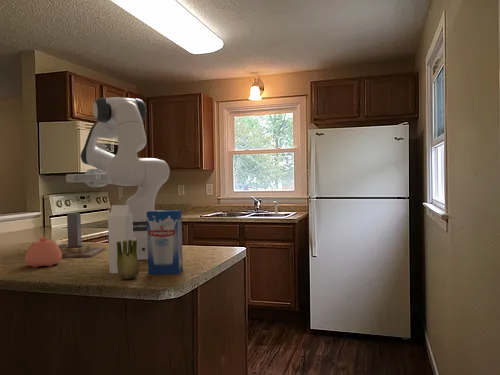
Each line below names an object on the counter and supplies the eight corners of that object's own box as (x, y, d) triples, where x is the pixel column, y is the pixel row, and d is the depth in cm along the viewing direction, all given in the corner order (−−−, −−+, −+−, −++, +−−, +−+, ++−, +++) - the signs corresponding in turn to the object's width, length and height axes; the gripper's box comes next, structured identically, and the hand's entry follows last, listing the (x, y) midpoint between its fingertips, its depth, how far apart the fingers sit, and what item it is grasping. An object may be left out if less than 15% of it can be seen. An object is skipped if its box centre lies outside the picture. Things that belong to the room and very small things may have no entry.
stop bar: (81, 250, 181) (80, 212, 180) (78, 252, 177) (76, 213, 176) (72, 250, 181) (70, 213, 180) (68, 252, 177) (67, 214, 176)
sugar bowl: (21, 270, 148) (20, 240, 148) (30, 262, 162) (29, 235, 161) (59, 267, 151) (58, 238, 151) (65, 260, 165) (64, 234, 165)
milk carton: (148, 274, 136) (146, 211, 135) (153, 270, 142) (151, 210, 142) (179, 274, 135) (177, 211, 135) (183, 269, 142) (181, 209, 141)
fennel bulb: (115, 280, 129) (114, 240, 128) (124, 276, 134) (123, 238, 133) (133, 281, 127) (132, 241, 127) (141, 277, 132) (140, 238, 132)
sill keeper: (105, 249, 188) (105, 242, 188) (91, 257, 170) (91, 249, 170) (55, 251, 187) (55, 244, 187) (35, 258, 169) (35, 251, 169)
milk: (127, 273, 138) (125, 205, 137) (109, 273, 139) (107, 206, 138) (134, 269, 144) (132, 204, 143) (117, 269, 145) (115, 204, 144)
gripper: (72, 171, 204) (60, 171, 191) (115, 170, 205) (106, 170, 191) (72, 184, 205) (60, 185, 191) (115, 183, 205) (106, 184, 191)
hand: (83, 177), depth 191 cm, fingers open, 8 cm apart
